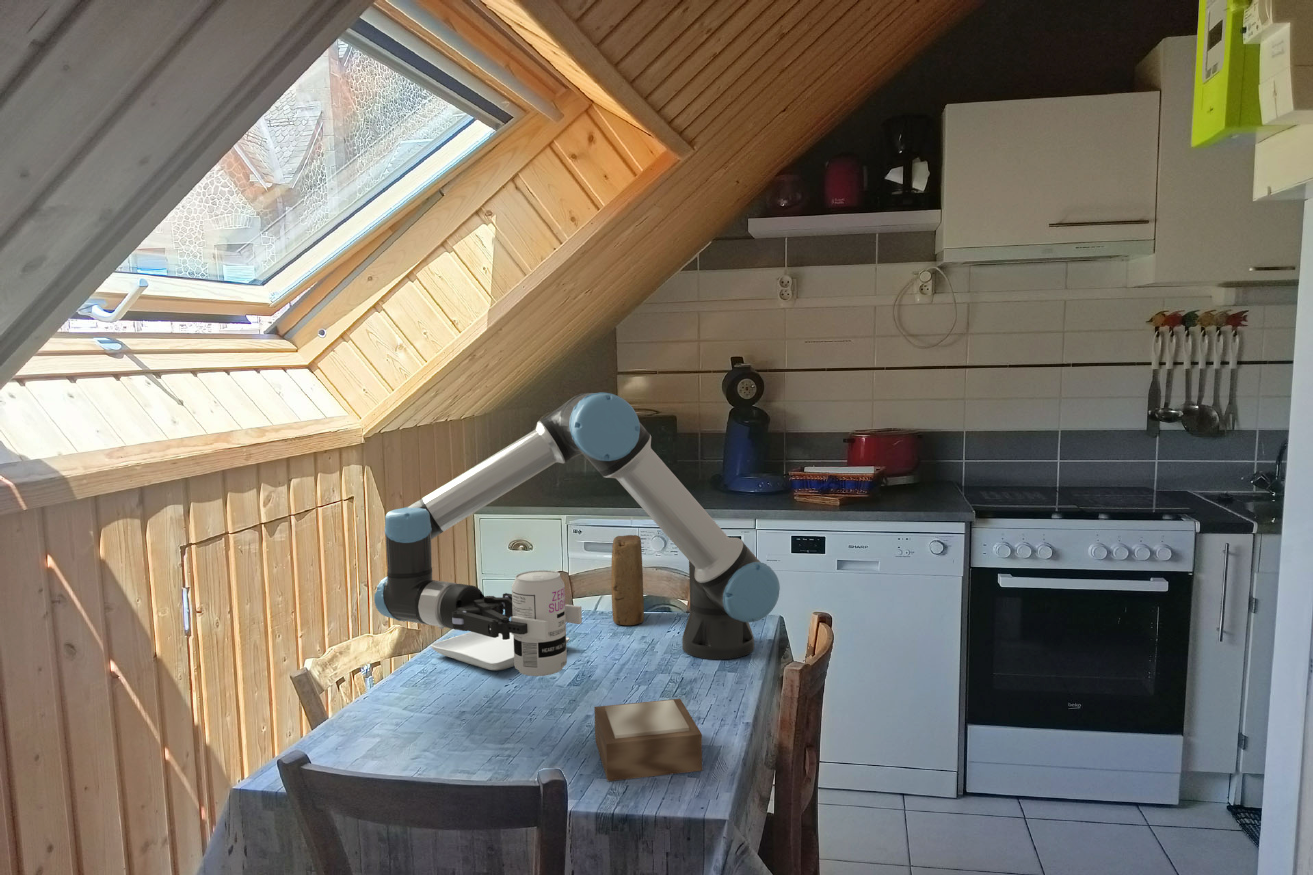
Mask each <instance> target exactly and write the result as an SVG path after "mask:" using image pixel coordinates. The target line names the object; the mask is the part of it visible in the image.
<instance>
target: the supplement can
mask: <svg viewBox="0 0 1313 875" xmlns="http://www.w3.org/2000/svg"><path fill="white" fill-rule="evenodd" d="M514 577H515V579H514V580H513V583H512V584H511V594H512V609H513V616H518V617H524V618H531V619H538V620H544V621H548V634H549V639H547V640H543V639H537V638H531V637H525V636H519V635H513V639H514V666H513V667H514V669H516V670H517V671H518V672H519V673H520V674H521V675H525V676H529V677H544V676H545V677H546V676H551V675H554V674H556V673H559V672H561V671H562V670H563V668H564V667H566V665H567V663H568V660H567V658H568V657H567V654H568V653H567V644H566V637H567V625H566V624H567V622H566V616H565V604H566V593H565V592H566V588H565V582H564V580H563V578H562V577H561V573H560V572H559V571H554V570H544V569H543V570H529V571H523V572H521V573H517V574H516V575H515V576H514Z"/></svg>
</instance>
